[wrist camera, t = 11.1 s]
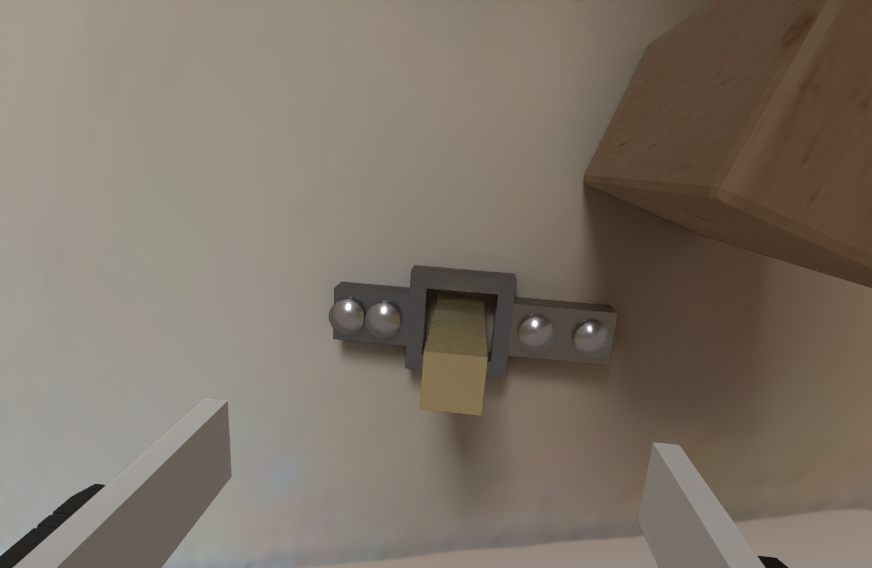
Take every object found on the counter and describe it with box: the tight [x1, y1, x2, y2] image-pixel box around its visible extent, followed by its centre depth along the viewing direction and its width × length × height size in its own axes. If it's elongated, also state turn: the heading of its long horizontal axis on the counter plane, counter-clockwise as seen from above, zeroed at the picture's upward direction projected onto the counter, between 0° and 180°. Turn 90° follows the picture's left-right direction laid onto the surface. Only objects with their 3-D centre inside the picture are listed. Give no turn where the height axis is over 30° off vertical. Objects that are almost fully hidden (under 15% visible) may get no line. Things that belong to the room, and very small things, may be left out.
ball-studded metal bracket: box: [329, 265, 618, 378], centre depth 37 cm, size 8×21×3 cm, turn 86°
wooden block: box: [584, 0, 872, 288], centre depth 24 cm, size 10×10×20 cm
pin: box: [420, 295, 488, 416], centre depth 32 cm, size 3×3×12 cm
